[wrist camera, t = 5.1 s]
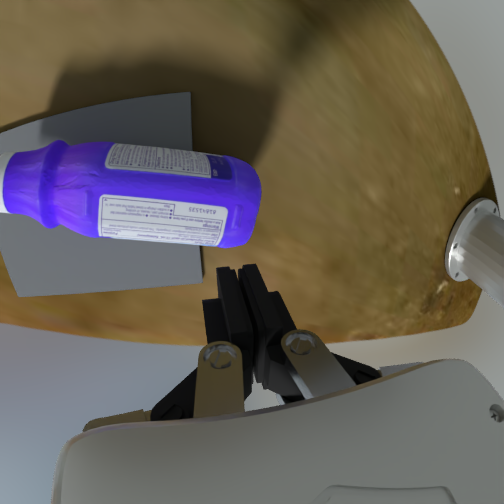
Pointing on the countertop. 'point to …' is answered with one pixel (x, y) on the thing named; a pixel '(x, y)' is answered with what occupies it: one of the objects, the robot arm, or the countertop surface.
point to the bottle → (133, 192)
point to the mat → (98, 249)
